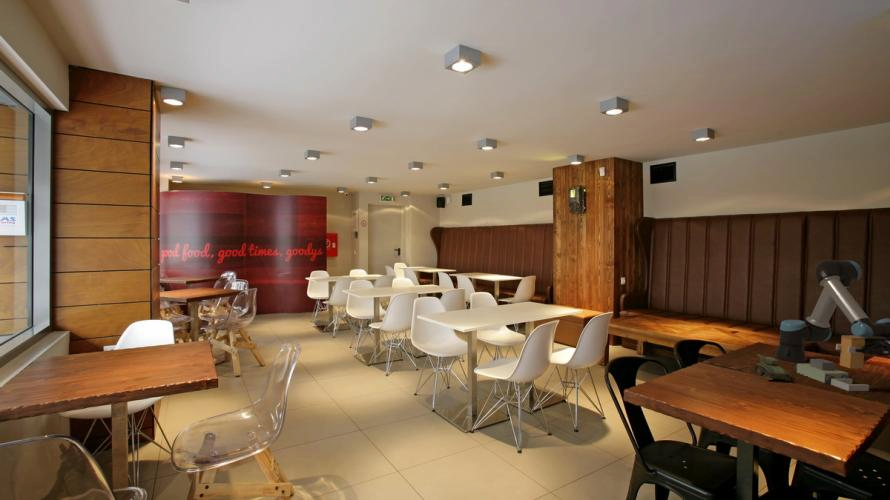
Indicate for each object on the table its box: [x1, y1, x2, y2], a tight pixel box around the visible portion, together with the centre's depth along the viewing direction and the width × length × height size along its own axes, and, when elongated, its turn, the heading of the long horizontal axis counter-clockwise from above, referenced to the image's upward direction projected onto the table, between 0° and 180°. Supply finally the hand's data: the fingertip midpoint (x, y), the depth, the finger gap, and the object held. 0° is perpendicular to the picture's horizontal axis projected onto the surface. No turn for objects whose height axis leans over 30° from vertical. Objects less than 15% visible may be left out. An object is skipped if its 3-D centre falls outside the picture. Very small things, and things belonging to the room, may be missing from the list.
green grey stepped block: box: [793, 358, 870, 392], centre depth 225 cm, size 29×13×9 cm, turn 4°
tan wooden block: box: [839, 334, 866, 369], centre depth 214 cm, size 5×7×15 cm
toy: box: [754, 354, 792, 382], centre depth 230 cm, size 10×18×10 cm, turn 175°
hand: (842, 348), depth 214 cm, fingers closed on tan wooden block, 5 cm apart
